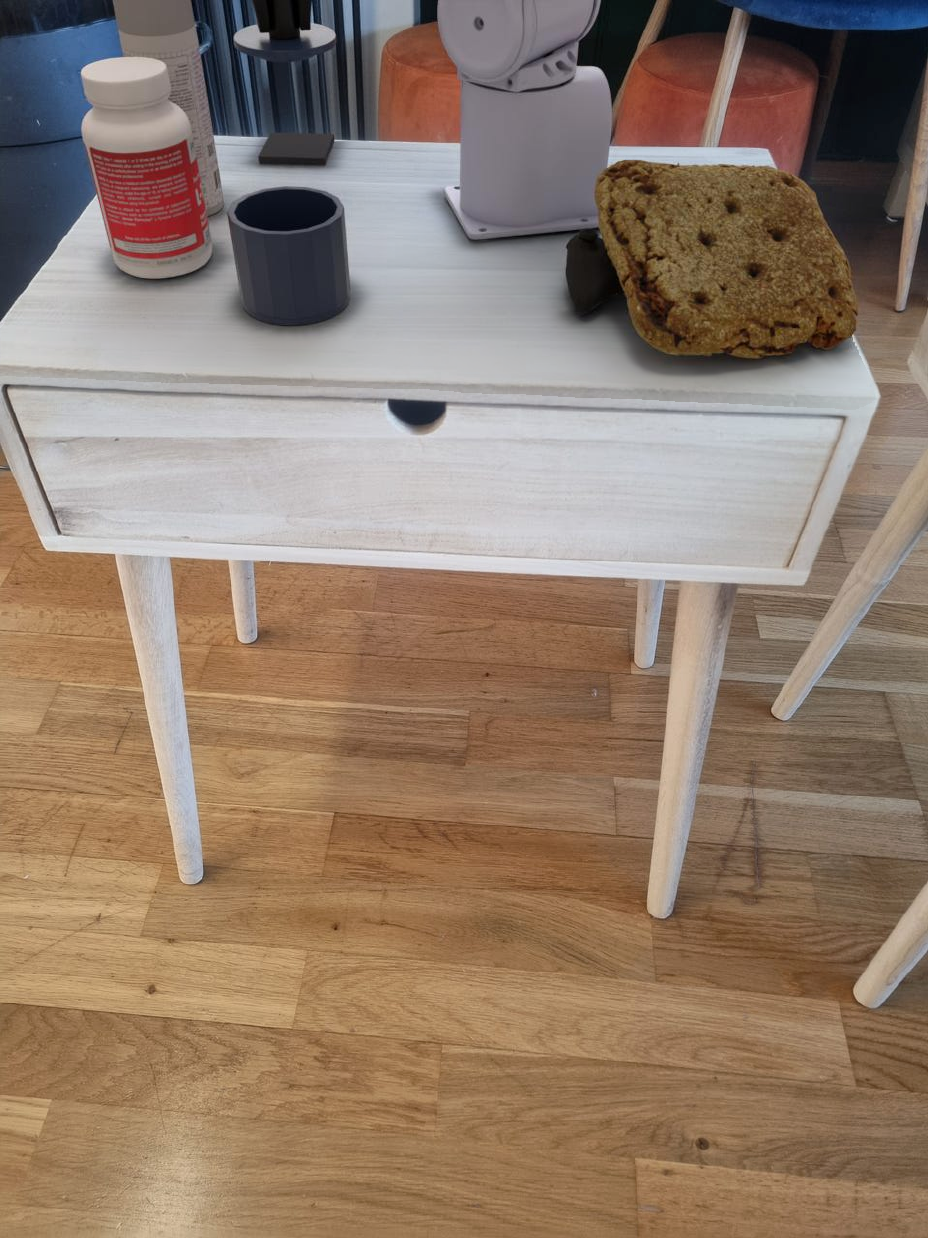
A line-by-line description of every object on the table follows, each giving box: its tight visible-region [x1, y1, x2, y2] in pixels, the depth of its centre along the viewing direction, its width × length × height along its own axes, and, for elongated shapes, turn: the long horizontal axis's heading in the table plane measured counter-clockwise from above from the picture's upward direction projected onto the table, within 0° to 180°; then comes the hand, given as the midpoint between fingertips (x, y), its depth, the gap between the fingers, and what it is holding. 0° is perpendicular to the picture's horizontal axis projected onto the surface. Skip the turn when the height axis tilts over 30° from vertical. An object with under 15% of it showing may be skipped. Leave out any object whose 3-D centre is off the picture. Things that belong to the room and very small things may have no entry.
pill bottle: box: [80, 56, 213, 280], centre depth 59 cm, size 6×6×11 cm
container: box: [112, 0, 225, 217], centre depth 63 cm, size 5×5×15 cm
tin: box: [226, 185, 351, 326], centre depth 57 cm, size 6×6×5 cm
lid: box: [232, 0, 337, 63], centre depth 69 cm, size 7×7×4 cm
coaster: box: [257, 131, 335, 166], centre depth 75 cm, size 5×5×1 cm
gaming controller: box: [564, 228, 625, 316], centre depth 59 cm, size 9×5×5 cm
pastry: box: [594, 159, 859, 359], centre depth 56 cm, size 17×17×3 cm
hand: (284, 27), depth 69 cm, fingers closed on lid, 2 cm apart
